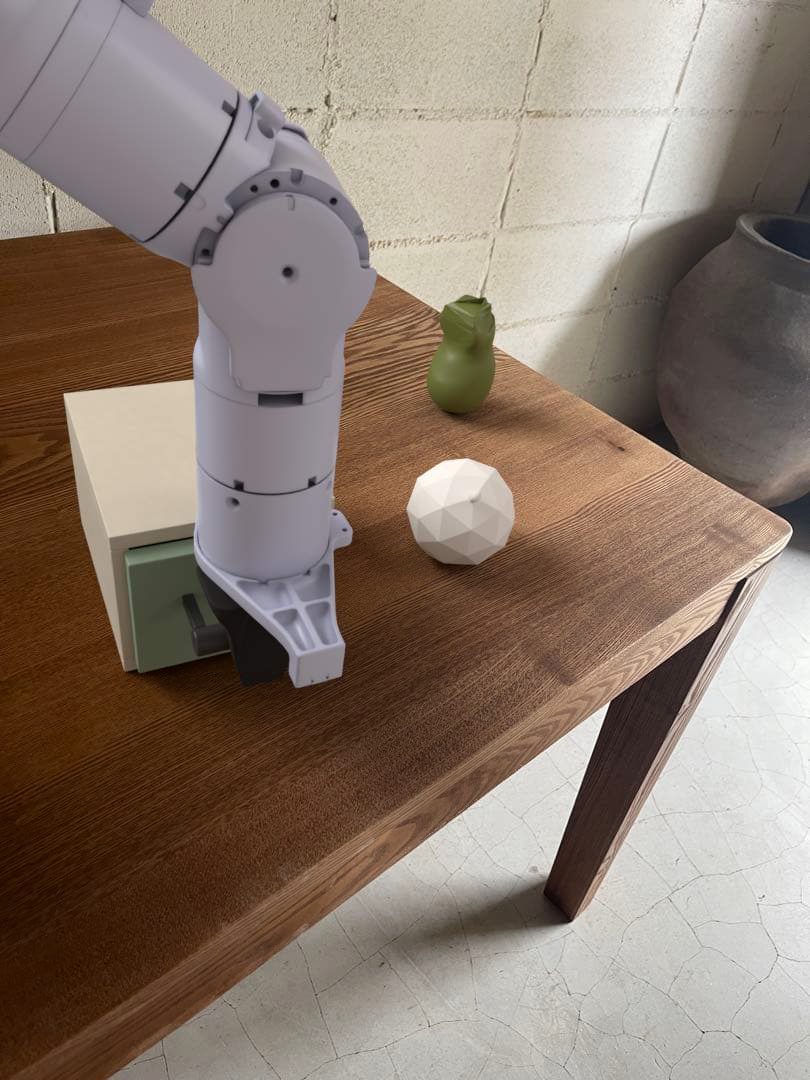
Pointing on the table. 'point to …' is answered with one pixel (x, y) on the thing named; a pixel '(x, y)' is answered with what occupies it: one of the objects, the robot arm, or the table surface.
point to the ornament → (461, 512)
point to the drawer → (169, 606)
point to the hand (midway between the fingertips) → (259, 673)
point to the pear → (463, 356)
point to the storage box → (132, 480)
